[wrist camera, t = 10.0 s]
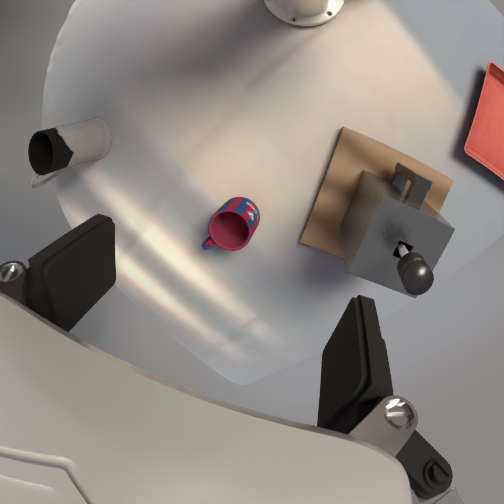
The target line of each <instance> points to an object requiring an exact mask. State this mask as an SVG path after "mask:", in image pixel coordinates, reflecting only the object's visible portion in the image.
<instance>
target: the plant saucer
mask: <svg viewBox="0 0 504 504" xmlns="http://www.w3.org/2000/svg"><path fill="white" fill-rule="evenodd" d="M464 151H465V153H466V154H468V155H469V156H471V157H472V158H474V159H475V160H477V161H478V162H479V163H481V164H482V165H484V166H485V167H487V168H488V169H489V170H491V171H492V172H493V173H495V174H496V175H497V176H499V177H500V178H501V179H503V180H504V70H503V69H501V68H500V67H499V66H498V65H496V64H495V63H494V62H492V61H489V63H488V66H487V71H486V75H485V79H484V83H483V87H482V91H481V95H480V98H479V102H478V106H477V109H476V113H475V116H474V119H473V122H472V125H471V128H470V131H469V134H468V137H467V140H466V143H465V146H464Z"/></svg>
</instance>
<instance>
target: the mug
mask: <svg viewBox="0 0 504 504" xmlns="http://www.w3.org/2000/svg"><path fill="white" fill-rule="evenodd" d="M259 220H260V214H259V211H258V208H257V207H256V205H255V204H254V203H253V202H252V201H250V200H249V199H246V198H243V197H235V198H232V199H230V200H228V201H227V202H226V203H225V204H224V205H223V206H222V207H221V208H220V209H219V210H218V211H217V212H216V213H215V214H214V215H213V216H212V218H211V220H210V222H209V233H210V236H209V237H208V238H207V239H206V240H205V241H204V242H203V244H202V247H203V248H204V249H205V250H206V249H209V248H210V247H212V246H213V245H214V244H217V245H218V246H219V247H221V248H223V249H226V250H232V251H234V250H239V249H241V248H243V247H245V246H246V245H247V244H248V242H249V241H250V239H251V237H252V235H253V233H254V231H255V229H256V228H257V226H258V224H259Z"/></svg>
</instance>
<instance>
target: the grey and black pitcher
mask: <svg viewBox="0 0 504 504" xmlns="http://www.w3.org/2000/svg"><path fill="white" fill-rule="evenodd" d="M111 143H112V134H111V130H110V127H109V125H108V124H107V123H106V122H105V121H104V120H103V119H101V118H93V119H90V120H89V121H85V122H79V123H73V124H67V125H62V126H56V127H55V128H51V129H47V130H42V131H38V132H36V133H35V134H34V135H33V136H32V138H31V140H30V143H29V151H28V154H29V161H30V164H31V166H32V168H33V170H34V171H35V172H36V174H35V175H34V176H33V178H32V179H31V181H30V185H31V187H32V188H36V187H39V186H41V185H43V184H45V183H47V182H49V181H50V180H52V179H53V178H54V177H56V176H57V175H58V174H59V173H61V172H62V171H63V170H64V169H65V168H68V167H71V166H74V165H77V164H80V163H83V162H86V161H89V160H100V159H102V158H104V157H105V156H106V155H107V153H108V152H109V150H110V147H111ZM57 170H58V171H57ZM54 171H57V172H56V173H54V174H53V175H52V176H50V177H49V178H47V179H46V180H44V181H42V182H40V183H38V184H35V185H33V182H34V180H35V179H36V178H37V177H38V176H40V175H45V174H48V173H51V172H54Z"/></svg>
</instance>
